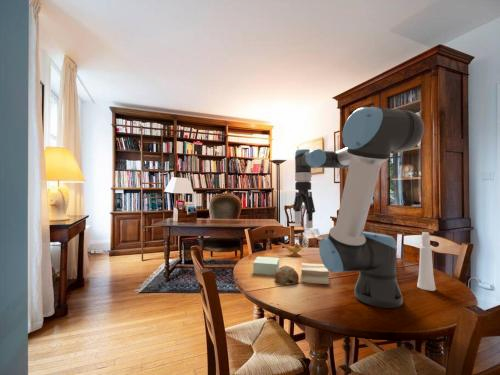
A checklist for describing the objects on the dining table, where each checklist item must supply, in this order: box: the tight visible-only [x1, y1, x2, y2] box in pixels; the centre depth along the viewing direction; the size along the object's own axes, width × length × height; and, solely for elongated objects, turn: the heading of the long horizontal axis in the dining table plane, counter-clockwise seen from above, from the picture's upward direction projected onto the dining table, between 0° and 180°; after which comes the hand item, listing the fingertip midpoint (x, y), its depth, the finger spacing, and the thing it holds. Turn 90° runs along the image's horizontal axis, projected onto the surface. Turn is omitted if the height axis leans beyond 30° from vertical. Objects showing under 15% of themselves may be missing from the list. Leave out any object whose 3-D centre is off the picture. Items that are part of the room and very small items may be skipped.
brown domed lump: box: [274, 265, 300, 286], centre depth 104 cm, size 10×10×8 cm
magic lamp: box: [279, 237, 309, 257], centre depth 148 cm, size 7×18×11 cm, turn 71°
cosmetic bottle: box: [416, 231, 437, 292], centre depth 97 cm, size 6×6×22 cm
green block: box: [252, 256, 280, 276], centre depth 117 cm, size 11×11×5 cm
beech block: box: [301, 262, 330, 285], centre depth 107 cm, size 11×11×5 cm
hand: (303, 226), depth 117 cm, fingers open, 13 cm apart
